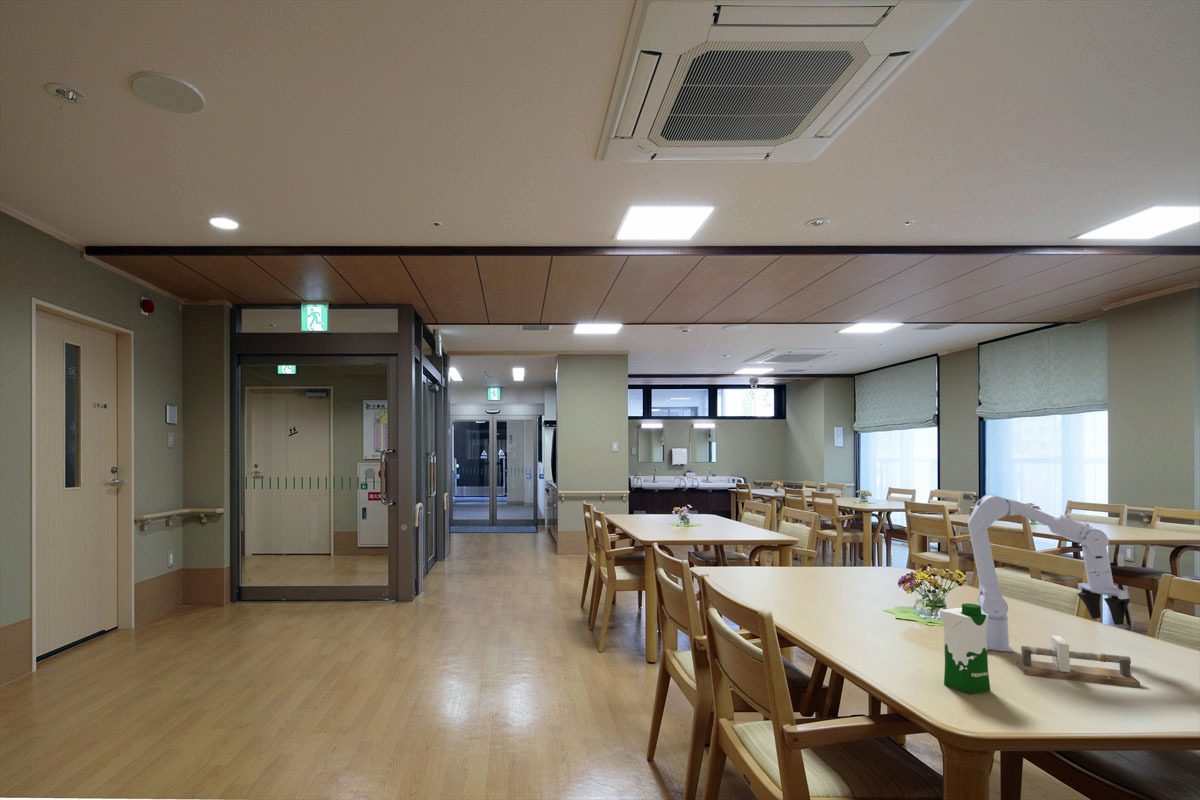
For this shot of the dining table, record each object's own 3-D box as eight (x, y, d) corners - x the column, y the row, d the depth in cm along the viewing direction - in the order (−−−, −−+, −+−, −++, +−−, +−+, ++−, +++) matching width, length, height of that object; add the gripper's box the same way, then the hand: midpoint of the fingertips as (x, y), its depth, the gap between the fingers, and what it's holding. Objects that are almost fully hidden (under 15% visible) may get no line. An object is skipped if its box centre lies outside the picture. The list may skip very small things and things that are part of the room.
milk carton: (970, 696, 151) (966, 609, 153) (937, 683, 160) (934, 600, 161) (996, 691, 155) (993, 606, 156) (963, 679, 163) (960, 598, 164)
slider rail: (1024, 674, 167) (1023, 650, 167) (1016, 663, 175) (1015, 640, 175) (1140, 687, 157) (1138, 662, 158) (1126, 675, 166) (1125, 651, 166)
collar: (1060, 671, 164) (1059, 643, 165) (1052, 661, 172) (1051, 635, 172) (1070, 672, 163) (1068, 644, 164) (1061, 662, 171) (1060, 636, 171)
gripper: (1134, 573, 174) (1144, 625, 173) (1090, 566, 189) (1099, 614, 187) (1109, 576, 174) (1119, 628, 172) (1068, 568, 188) (1076, 616, 187)
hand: (1107, 621), depth 180 cm, fingers open, 7 cm apart
